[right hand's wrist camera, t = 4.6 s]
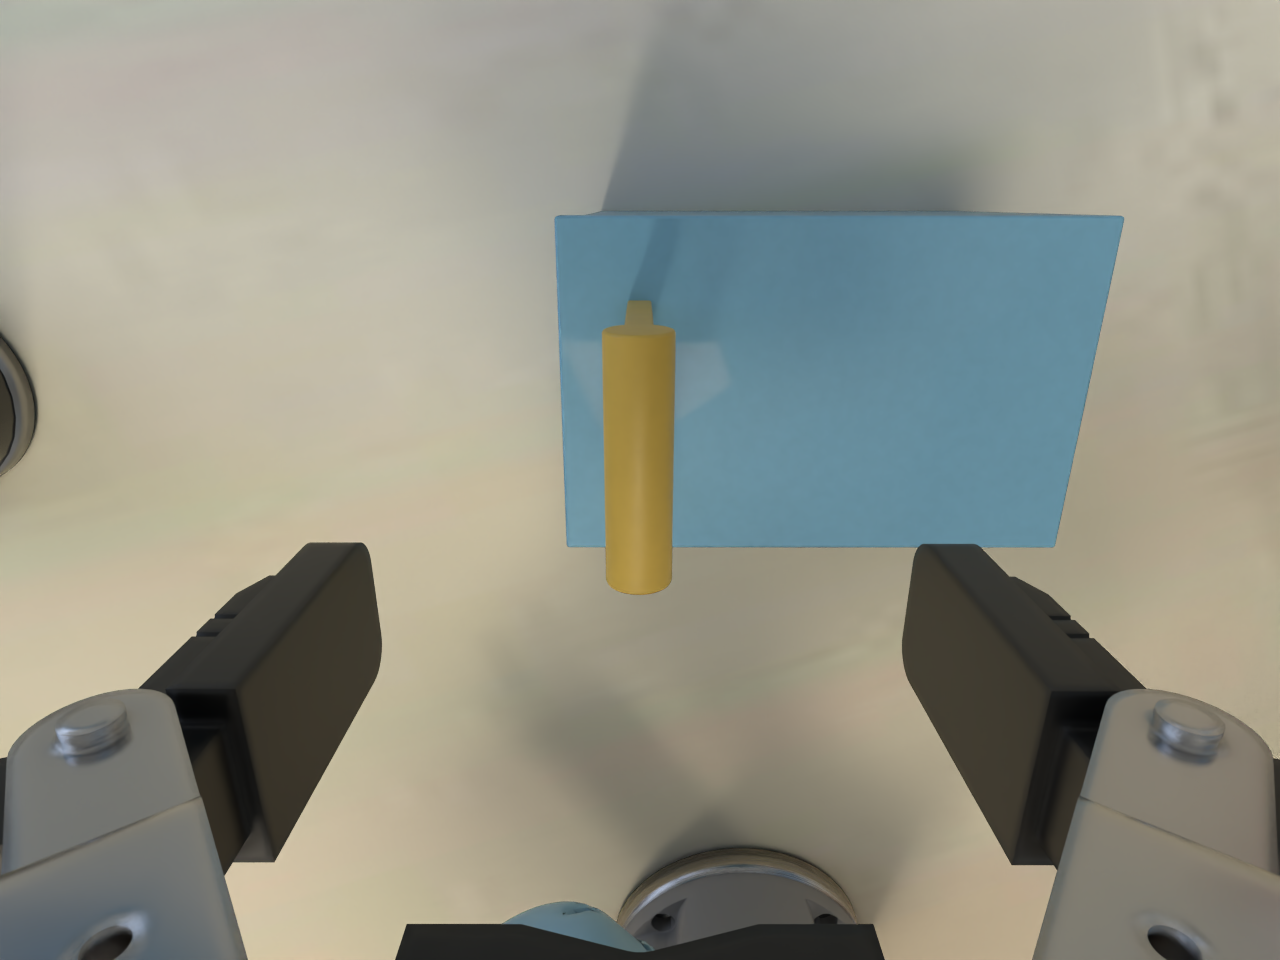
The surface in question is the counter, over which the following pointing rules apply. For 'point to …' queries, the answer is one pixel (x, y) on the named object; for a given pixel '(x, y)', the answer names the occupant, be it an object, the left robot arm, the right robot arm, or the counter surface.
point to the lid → (822, 379)
